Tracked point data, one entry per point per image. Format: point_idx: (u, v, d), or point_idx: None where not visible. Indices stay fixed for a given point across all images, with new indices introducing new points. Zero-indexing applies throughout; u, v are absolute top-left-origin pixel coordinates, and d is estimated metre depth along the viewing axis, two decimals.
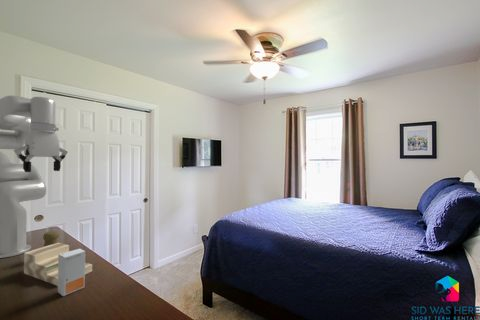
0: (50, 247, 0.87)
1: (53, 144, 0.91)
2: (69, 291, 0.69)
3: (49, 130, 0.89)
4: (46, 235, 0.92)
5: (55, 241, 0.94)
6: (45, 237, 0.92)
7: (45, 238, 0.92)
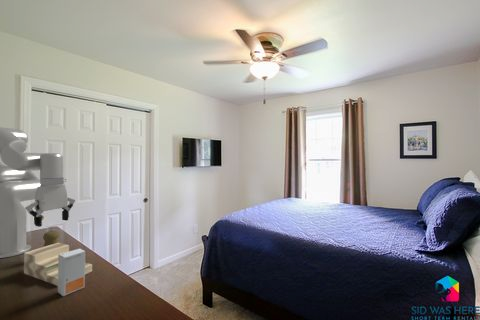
0: (50, 247, 0.87)
1: (61, 196, 0.96)
2: (69, 291, 0.69)
3: (58, 184, 0.93)
4: (46, 235, 0.92)
5: (55, 241, 0.94)
6: (45, 237, 0.92)
7: (45, 238, 0.92)
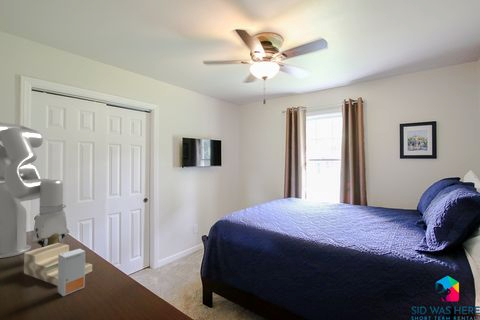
0: (50, 247, 0.87)
1: (61, 223, 0.96)
2: (69, 291, 0.69)
3: (57, 212, 0.93)
4: None
5: (55, 241, 0.94)
6: None
7: None
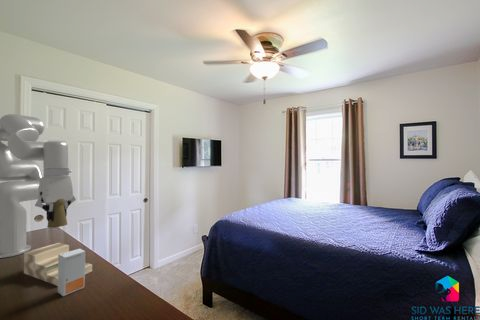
0: (50, 247, 0.87)
1: (67, 188, 0.89)
2: (69, 291, 0.69)
3: (63, 175, 0.86)
4: None
5: (61, 207, 0.87)
6: None
7: None
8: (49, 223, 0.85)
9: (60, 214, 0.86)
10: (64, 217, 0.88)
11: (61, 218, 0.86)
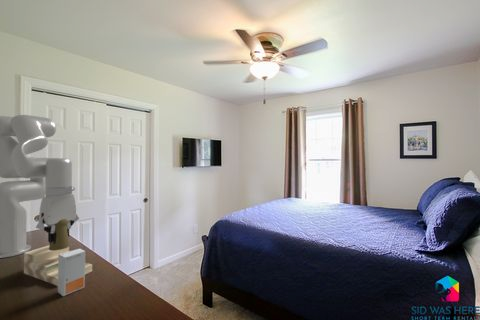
0: None
1: (70, 207, 0.84)
2: (69, 291, 0.69)
3: (66, 194, 0.81)
4: None
5: (64, 228, 0.82)
6: None
7: None
8: (51, 245, 0.80)
9: (62, 236, 0.81)
10: (66, 238, 0.83)
11: (63, 240, 0.81)
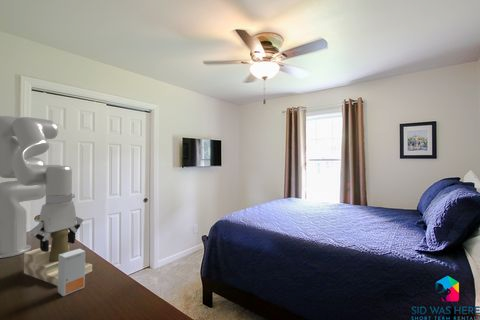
0: (50, 247, 0.87)
1: (70, 215, 0.84)
2: (69, 291, 0.69)
3: (66, 202, 0.81)
4: (54, 232, 0.81)
5: (64, 239, 0.83)
6: (53, 234, 0.81)
7: (53, 236, 0.81)
8: (50, 257, 0.80)
9: (62, 247, 0.82)
10: (66, 249, 0.83)
11: (63, 251, 0.82)
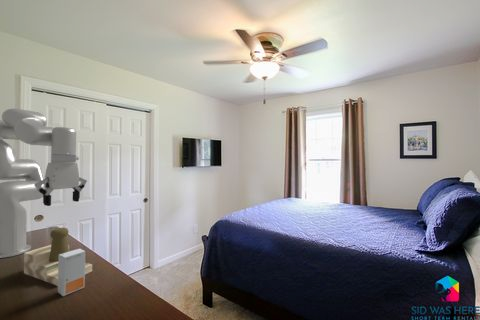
0: (50, 247, 0.87)
1: (73, 175, 0.88)
2: (69, 291, 0.69)
3: (70, 161, 0.86)
4: (54, 232, 0.81)
5: (64, 239, 0.83)
6: (53, 234, 0.81)
7: (53, 236, 0.81)
8: (50, 257, 0.80)
9: (62, 247, 0.82)
10: (66, 249, 0.83)
11: (63, 251, 0.82)
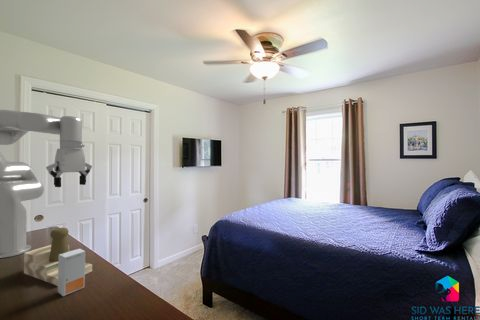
0: (50, 247, 0.87)
1: (80, 160, 0.97)
2: (69, 291, 0.69)
3: (77, 147, 0.95)
4: (54, 232, 0.81)
5: (64, 239, 0.83)
6: (53, 234, 0.81)
7: (53, 236, 0.81)
8: (50, 257, 0.80)
9: (62, 247, 0.82)
10: (66, 249, 0.83)
11: (63, 251, 0.82)
